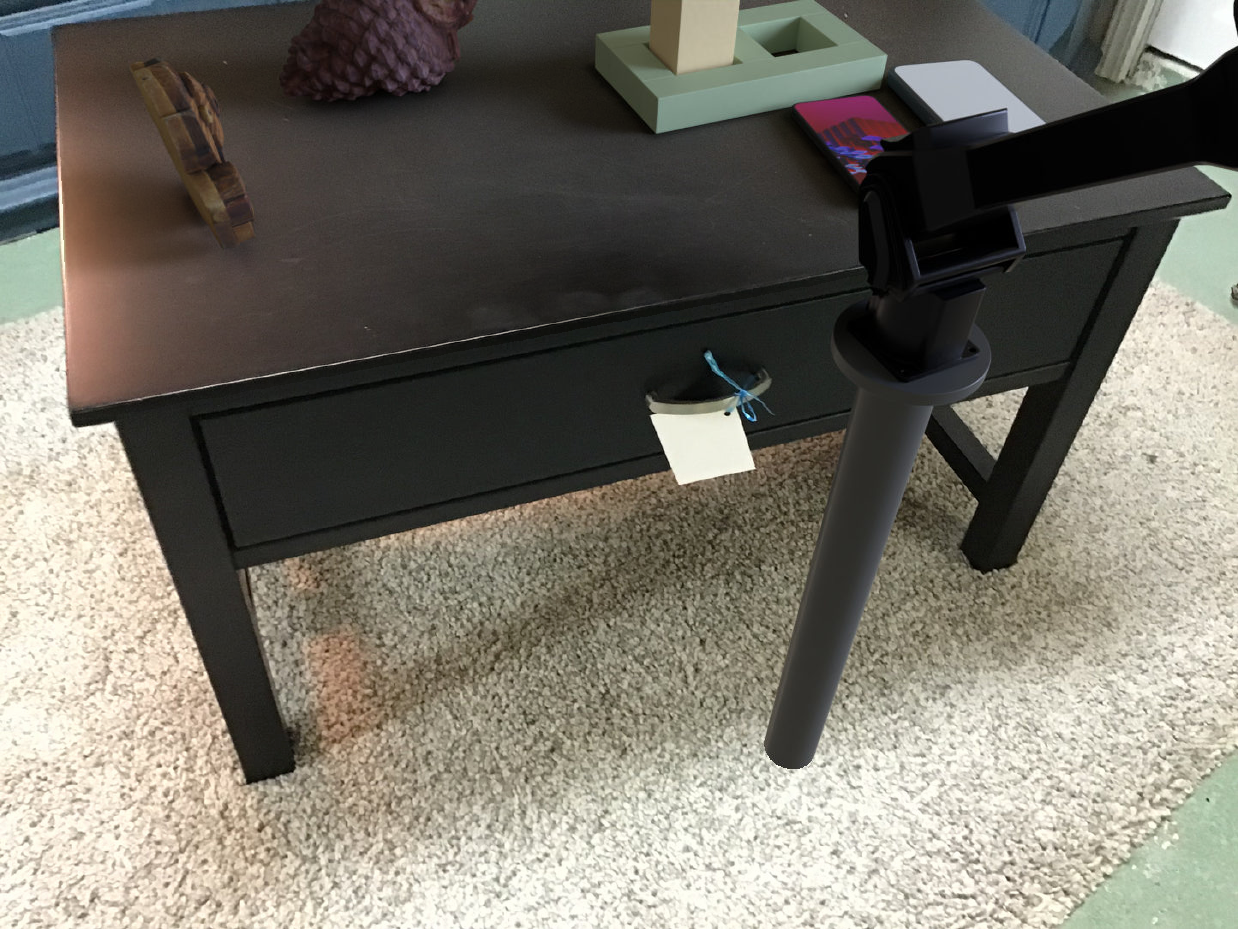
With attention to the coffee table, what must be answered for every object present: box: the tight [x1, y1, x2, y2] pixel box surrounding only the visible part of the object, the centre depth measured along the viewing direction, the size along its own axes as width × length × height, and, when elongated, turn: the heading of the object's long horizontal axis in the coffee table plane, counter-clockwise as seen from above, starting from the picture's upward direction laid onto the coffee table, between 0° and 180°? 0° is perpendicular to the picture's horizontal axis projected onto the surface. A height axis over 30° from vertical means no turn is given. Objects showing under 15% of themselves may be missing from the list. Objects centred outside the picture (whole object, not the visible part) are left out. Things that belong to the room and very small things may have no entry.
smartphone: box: [790, 94, 911, 195], centre depth 81 cm, size 8×1×15 cm
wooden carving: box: [129, 56, 256, 251], centre depth 70 cm, size 16×5×10 cm, turn 36°
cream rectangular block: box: [649, 0, 741, 76], centre depth 84 cm, size 5×5×13 cm
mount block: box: [594, 0, 888, 135], centre depth 89 cm, size 12×21×3 cm, turn 114°
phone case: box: [886, 58, 1048, 133], centre depth 85 cm, size 9×2×16 cm
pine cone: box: [278, 0, 478, 103], centre depth 84 cm, size 18×10×10 cm
